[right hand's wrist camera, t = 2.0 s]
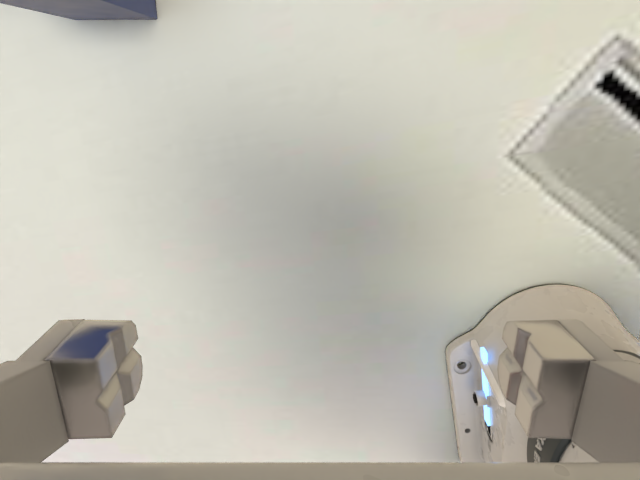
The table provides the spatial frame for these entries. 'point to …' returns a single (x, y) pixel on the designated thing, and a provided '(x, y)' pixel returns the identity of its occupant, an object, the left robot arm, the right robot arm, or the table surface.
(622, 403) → the right robot arm
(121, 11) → the box
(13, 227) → the table surface
